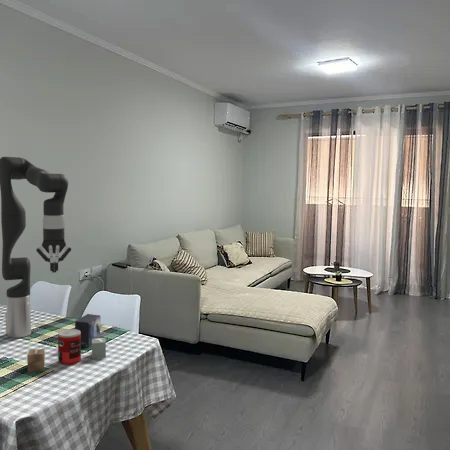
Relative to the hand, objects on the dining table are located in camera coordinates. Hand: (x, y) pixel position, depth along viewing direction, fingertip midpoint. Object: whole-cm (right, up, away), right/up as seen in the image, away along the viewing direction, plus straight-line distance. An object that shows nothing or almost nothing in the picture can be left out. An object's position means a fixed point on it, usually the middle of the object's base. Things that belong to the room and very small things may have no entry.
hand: (54, 272), depth 170 cm
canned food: (+8, -33, -5) cm, 34 cm away
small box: (+8, -31, +14) cm, 35 cm away
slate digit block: (+17, -32, +1) cm, 36 cm away
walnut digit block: (-2, -33, -12) cm, 35 cm away
